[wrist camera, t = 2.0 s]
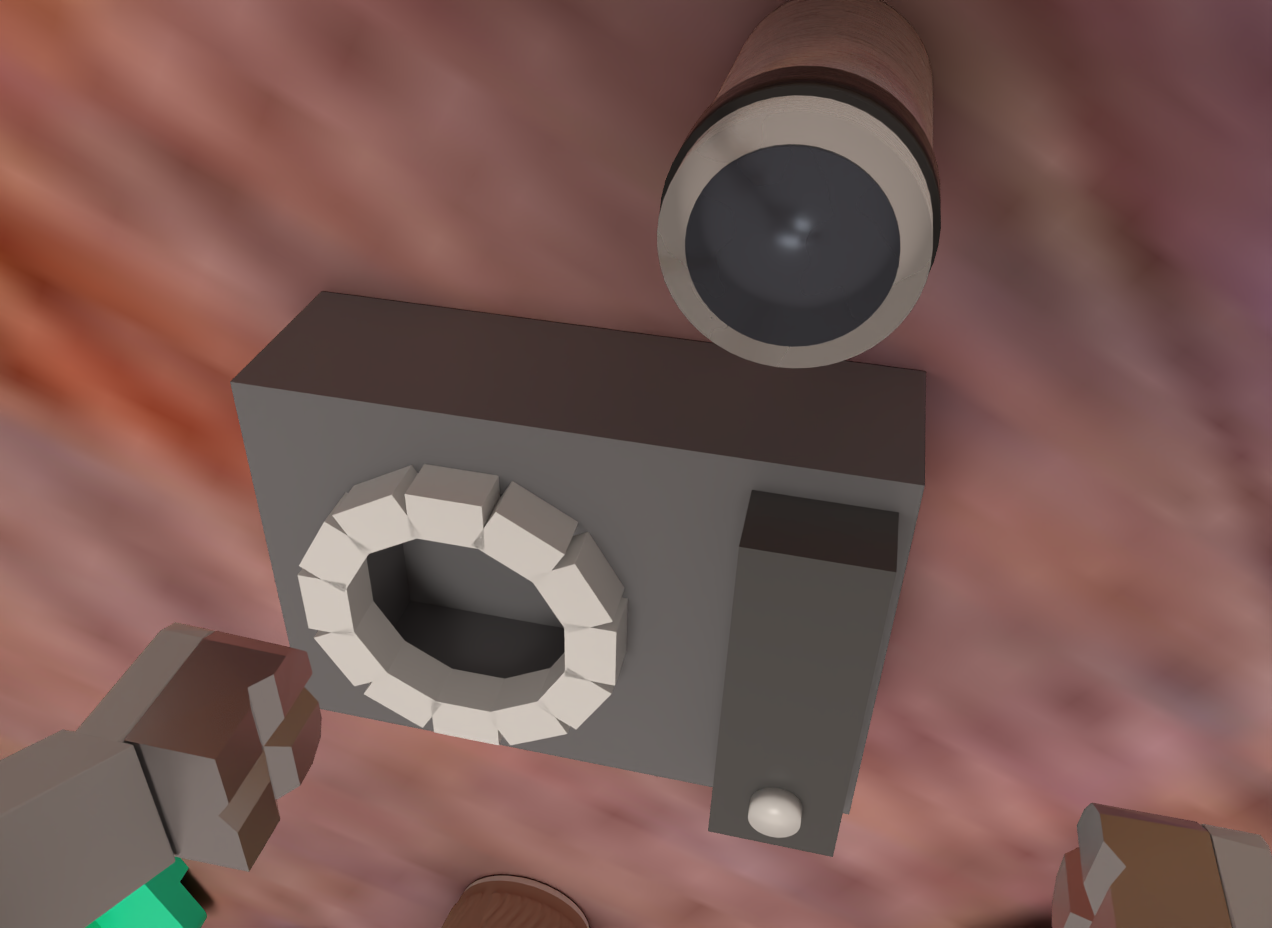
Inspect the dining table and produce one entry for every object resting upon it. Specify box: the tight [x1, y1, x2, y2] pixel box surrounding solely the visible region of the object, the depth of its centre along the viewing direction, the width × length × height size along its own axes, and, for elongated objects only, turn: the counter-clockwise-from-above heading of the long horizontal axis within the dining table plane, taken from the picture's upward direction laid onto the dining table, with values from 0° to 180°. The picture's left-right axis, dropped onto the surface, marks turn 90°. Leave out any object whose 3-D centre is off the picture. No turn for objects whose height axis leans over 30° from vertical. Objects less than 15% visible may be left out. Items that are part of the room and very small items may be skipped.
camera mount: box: [85, 857, 207, 928], centre depth 57 cm, size 12×8×10 cm, turn 19°
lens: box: [657, 0, 941, 368], centre depth 25 cm, size 6×6×10 cm
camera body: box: [230, 291, 926, 857], centre depth 35 cm, size 14×20×9 cm
